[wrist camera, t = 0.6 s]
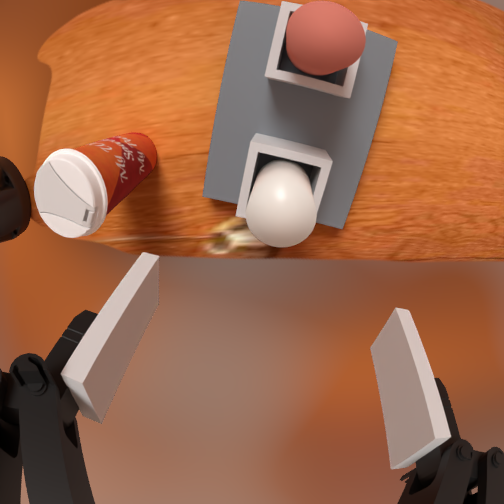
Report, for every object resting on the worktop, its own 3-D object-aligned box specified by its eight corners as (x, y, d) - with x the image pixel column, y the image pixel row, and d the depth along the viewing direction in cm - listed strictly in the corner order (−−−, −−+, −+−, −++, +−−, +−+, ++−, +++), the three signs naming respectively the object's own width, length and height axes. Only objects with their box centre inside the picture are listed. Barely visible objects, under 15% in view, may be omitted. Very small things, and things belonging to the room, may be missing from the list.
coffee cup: (177, 141, 33) (110, 181, 20) (150, 197, 37) (87, 259, 24) (121, 112, 31) (37, 137, 18) (100, 167, 35) (24, 215, 22)
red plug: (280, 67, 22) (278, 59, 16) (292, 17, 19) (294, -7, 13) (338, 82, 22) (356, 80, 16) (350, 32, 19) (371, 14, 13)
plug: (250, 203, 28) (239, 238, 22) (261, 153, 26) (253, 175, 20) (301, 216, 28) (305, 254, 22) (316, 166, 26) (325, 192, 20)
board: (208, 187, 35) (189, 214, 29) (244, 7, 24) (231, -15, 17) (338, 218, 36) (349, 251, 29) (388, 45, 24) (416, 35, 17)
